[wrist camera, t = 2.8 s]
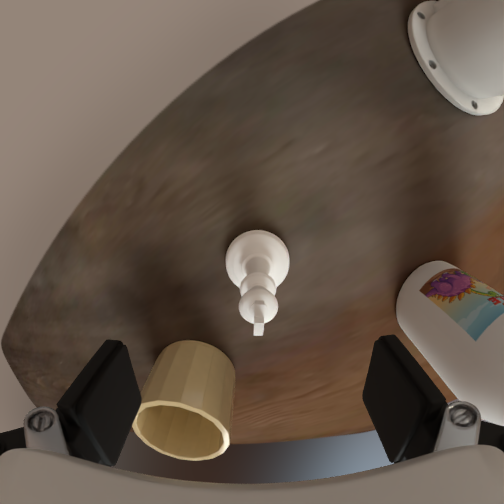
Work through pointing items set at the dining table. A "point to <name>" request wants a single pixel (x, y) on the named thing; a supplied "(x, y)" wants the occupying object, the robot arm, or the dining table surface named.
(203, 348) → the cup
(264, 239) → the chess piece
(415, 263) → the dining table surface
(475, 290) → the milk bottle
